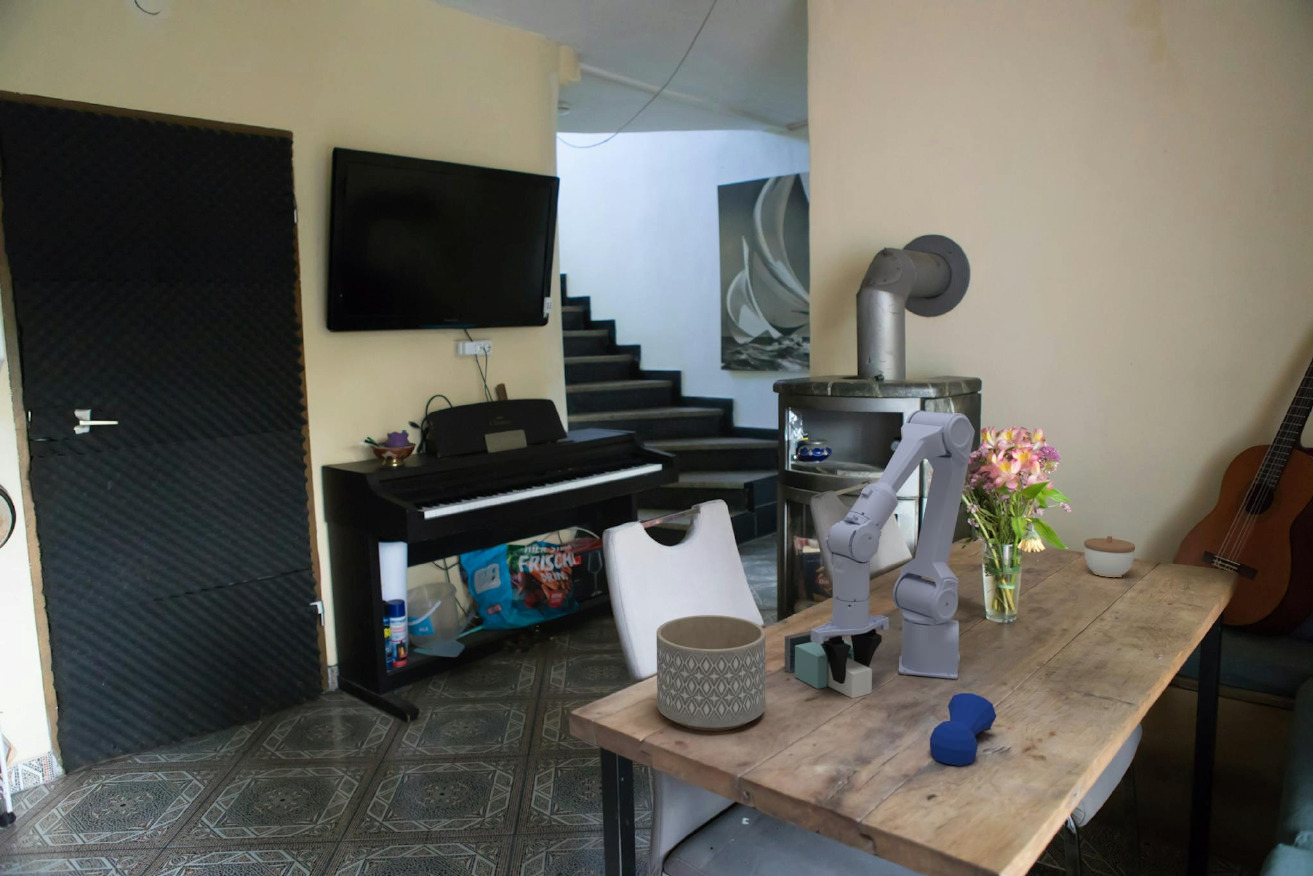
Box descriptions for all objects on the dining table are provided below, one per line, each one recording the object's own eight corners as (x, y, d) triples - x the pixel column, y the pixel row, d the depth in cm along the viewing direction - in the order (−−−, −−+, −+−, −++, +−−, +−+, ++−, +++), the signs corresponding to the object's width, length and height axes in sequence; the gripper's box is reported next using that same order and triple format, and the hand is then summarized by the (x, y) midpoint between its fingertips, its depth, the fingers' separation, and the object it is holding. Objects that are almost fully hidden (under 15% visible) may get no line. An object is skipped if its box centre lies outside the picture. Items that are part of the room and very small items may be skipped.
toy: (951, 724, 132) (920, 760, 120) (953, 683, 131) (922, 715, 119) (999, 735, 128) (972, 773, 116) (1001, 693, 128) (974, 727, 115)
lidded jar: (1091, 580, 206) (1092, 540, 205) (1077, 568, 217) (1078, 530, 216) (1140, 581, 204) (1142, 541, 203) (1124, 569, 215) (1126, 531, 214)
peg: (871, 693, 142) (872, 669, 141) (852, 698, 140) (852, 673, 139) (830, 673, 151) (831, 650, 150) (812, 677, 149) (812, 654, 148)
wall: (827, 664, 155) (827, 631, 154) (789, 672, 151) (790, 638, 150) (821, 661, 156) (821, 628, 155) (784, 670, 152) (784, 636, 151)
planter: (734, 746, 124) (734, 658, 123) (636, 720, 133) (635, 638, 131) (782, 704, 138) (783, 625, 136) (691, 684, 147) (690, 609, 145)
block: (860, 678, 148) (860, 647, 147) (817, 688, 144) (817, 656, 143) (836, 667, 153) (837, 636, 152) (794, 676, 149) (795, 645, 148)
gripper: (868, 584, 149) (867, 662, 150) (799, 597, 142) (798, 679, 143) (898, 594, 142) (896, 676, 144) (827, 608, 136) (826, 694, 137)
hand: (849, 678), depth 143 cm, fingers closed on peg, 4 cm apart
